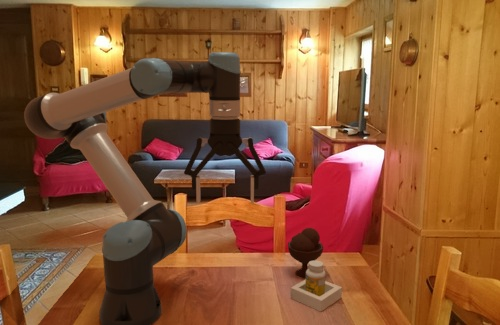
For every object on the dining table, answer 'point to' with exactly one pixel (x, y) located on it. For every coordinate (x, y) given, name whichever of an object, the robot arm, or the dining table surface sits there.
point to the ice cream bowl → (305, 249)
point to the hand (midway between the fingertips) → (225, 201)
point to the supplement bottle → (315, 278)
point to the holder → (313, 300)
